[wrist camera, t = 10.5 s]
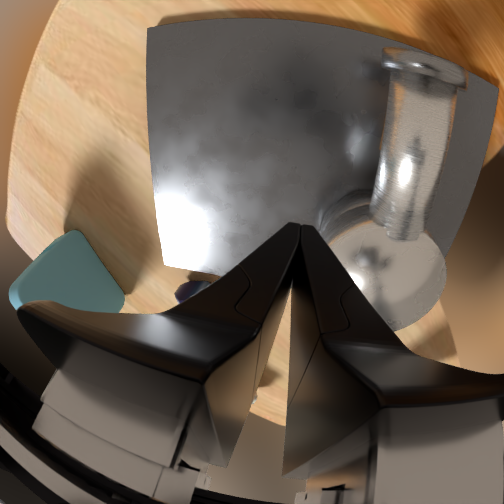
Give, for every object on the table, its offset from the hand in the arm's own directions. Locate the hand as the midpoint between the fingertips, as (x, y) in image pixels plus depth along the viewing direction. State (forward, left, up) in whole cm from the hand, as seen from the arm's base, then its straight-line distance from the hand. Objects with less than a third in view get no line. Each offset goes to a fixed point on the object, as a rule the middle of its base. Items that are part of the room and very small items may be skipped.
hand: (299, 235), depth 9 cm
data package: (+24, +17, -12) cm, 32 cm away
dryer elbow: (-6, +1, -8) cm, 10 cm away
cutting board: (-1, +2, -12) cm, 12 cm away
